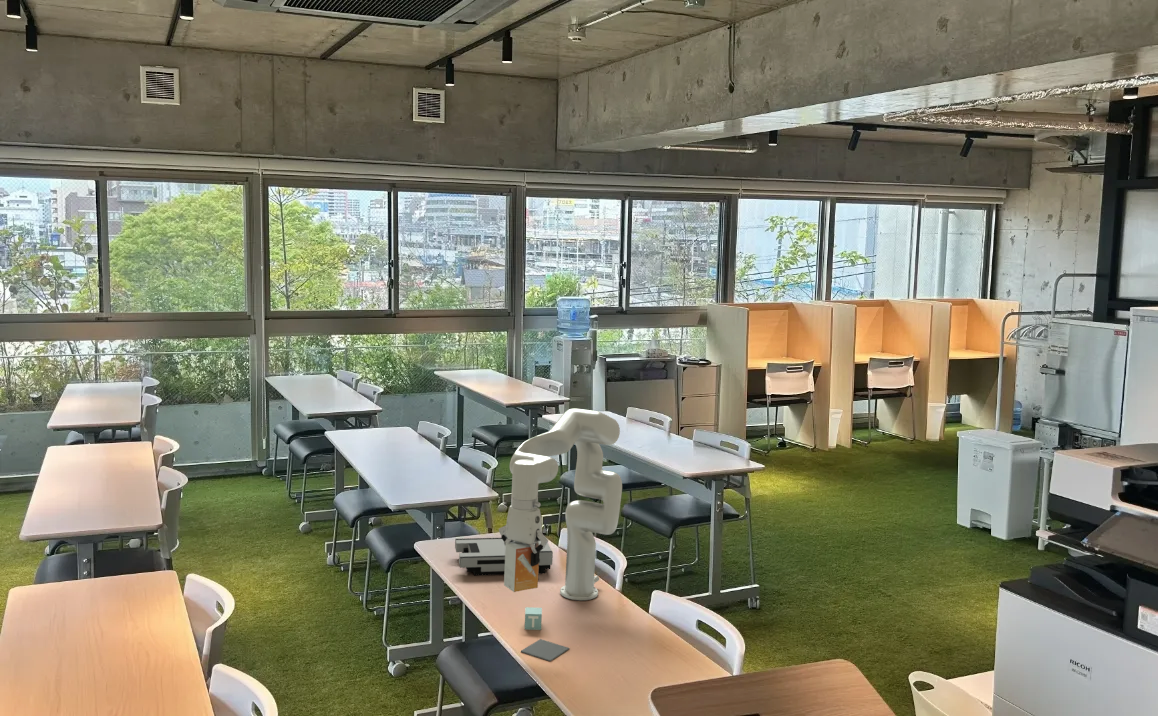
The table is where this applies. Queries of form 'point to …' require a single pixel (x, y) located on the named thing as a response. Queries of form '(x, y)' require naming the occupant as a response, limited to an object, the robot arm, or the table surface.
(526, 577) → the small box
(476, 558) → the gray flat machine
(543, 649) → the pad
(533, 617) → the letter cube
